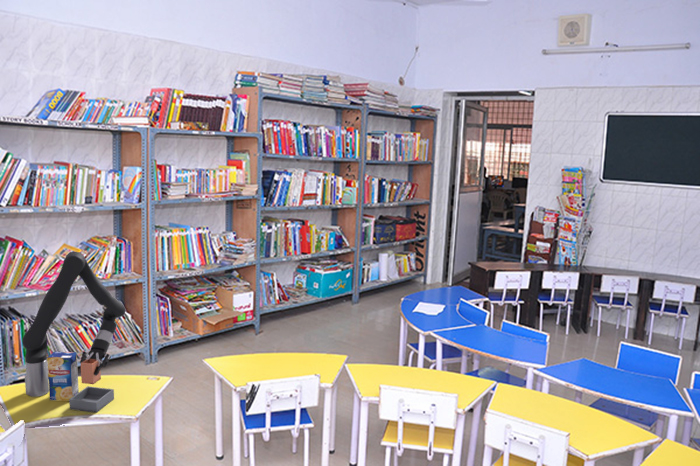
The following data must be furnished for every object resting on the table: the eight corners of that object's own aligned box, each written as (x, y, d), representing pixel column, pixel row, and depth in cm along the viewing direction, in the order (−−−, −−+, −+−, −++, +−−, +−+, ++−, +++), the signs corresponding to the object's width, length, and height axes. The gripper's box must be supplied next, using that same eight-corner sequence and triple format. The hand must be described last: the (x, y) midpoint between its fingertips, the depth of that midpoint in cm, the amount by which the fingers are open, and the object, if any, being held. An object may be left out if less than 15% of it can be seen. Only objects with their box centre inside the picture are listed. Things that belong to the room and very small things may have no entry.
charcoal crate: (69, 409, 266) (69, 399, 265) (88, 395, 279) (87, 386, 278) (96, 412, 263) (96, 402, 262) (114, 398, 277) (113, 389, 276)
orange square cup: (81, 383, 267) (80, 363, 265) (89, 377, 273) (88, 358, 271) (93, 384, 266) (92, 364, 264) (100, 378, 272) (99, 359, 270)
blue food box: (72, 400, 274) (70, 357, 270) (49, 400, 273) (46, 357, 269) (78, 394, 280) (76, 352, 276) (56, 393, 280) (53, 351, 276)
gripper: (85, 336, 274) (70, 369, 265) (112, 339, 272) (98, 372, 262) (92, 343, 280) (78, 375, 271) (119, 345, 278) (106, 378, 269)
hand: (88, 374), depth 267 cm, fingers closed on orange square cup, 6 cm apart
